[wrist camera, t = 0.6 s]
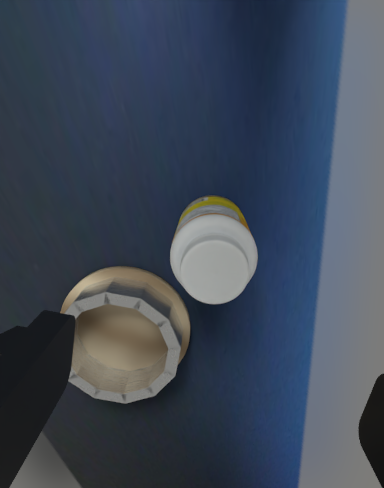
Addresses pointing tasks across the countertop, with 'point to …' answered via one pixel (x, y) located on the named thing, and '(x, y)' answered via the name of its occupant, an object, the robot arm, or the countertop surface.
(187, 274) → the supplement bottle
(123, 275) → the beige round plate
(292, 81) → the countertop surface
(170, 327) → the white beige low ring
